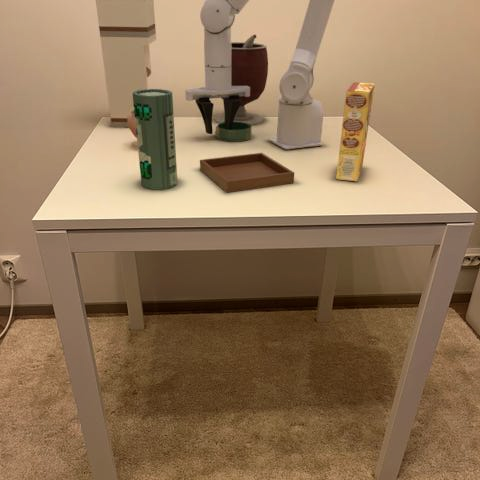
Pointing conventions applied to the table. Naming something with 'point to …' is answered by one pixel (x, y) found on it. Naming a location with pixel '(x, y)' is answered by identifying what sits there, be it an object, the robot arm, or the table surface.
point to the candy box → (354, 130)
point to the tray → (246, 172)
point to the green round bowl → (234, 132)
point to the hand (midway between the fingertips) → (218, 132)
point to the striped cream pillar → (125, 51)
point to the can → (155, 138)
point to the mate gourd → (248, 76)
